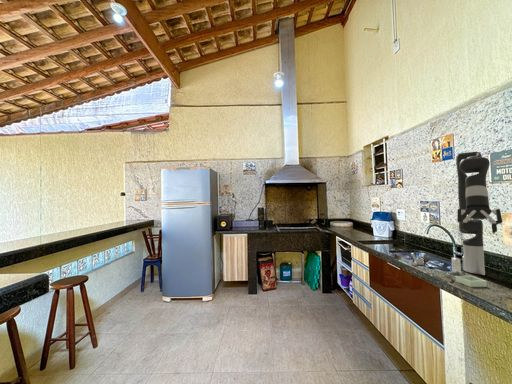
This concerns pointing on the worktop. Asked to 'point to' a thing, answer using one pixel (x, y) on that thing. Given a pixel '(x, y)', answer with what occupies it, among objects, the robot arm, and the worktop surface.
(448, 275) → the socket block
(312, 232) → the worktop surface
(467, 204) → the robot arm
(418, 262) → the lighter
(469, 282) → the bin
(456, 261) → the shiny silver cylinder
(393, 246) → the worktop surface
